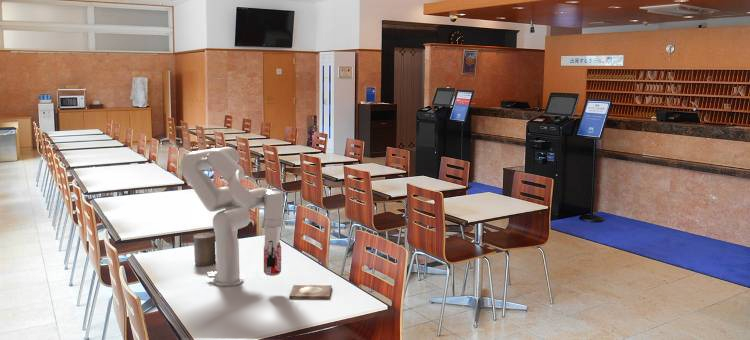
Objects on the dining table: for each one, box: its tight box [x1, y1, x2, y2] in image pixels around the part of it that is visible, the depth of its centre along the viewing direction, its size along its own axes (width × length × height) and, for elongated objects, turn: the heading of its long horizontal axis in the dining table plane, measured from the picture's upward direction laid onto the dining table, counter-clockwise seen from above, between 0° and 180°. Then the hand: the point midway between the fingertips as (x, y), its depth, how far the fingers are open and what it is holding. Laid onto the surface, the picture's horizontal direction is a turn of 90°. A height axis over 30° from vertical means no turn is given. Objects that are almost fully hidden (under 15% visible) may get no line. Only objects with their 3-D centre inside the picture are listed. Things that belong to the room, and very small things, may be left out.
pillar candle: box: [193, 232, 217, 267], centre depth 302 cm, size 10×10×15 cm
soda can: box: [263, 241, 282, 277], centre depth 263 cm, size 7×7×13 cm
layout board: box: [288, 284, 333, 300], centre depth 264 cm, size 16×13×1 cm
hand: (272, 263), depth 264 cm, fingers closed on soda can, 7 cm apart
